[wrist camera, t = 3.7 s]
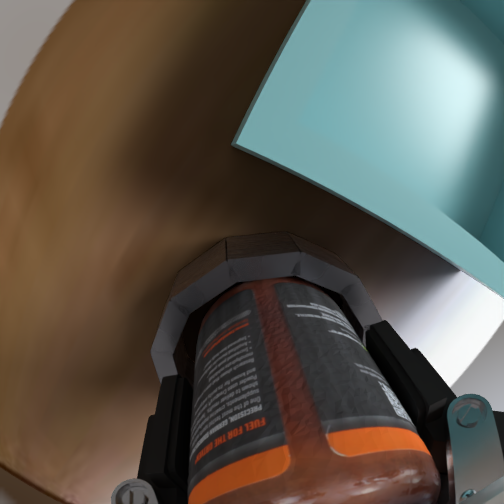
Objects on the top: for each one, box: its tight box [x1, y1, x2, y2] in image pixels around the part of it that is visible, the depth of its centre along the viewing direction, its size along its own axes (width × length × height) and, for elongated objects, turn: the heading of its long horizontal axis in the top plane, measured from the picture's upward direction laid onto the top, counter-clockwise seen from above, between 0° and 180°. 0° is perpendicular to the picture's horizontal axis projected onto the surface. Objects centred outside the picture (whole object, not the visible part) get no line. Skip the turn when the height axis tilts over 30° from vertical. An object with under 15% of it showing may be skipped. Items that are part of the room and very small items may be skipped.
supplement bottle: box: [187, 276, 441, 504], centre depth 7 cm, size 6×6×11 cm
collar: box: [150, 231, 383, 389], centre depth 13 cm, size 9×9×2 cm
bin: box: [231, 0, 504, 299], centre depth 9 cm, size 13×13×5 cm
